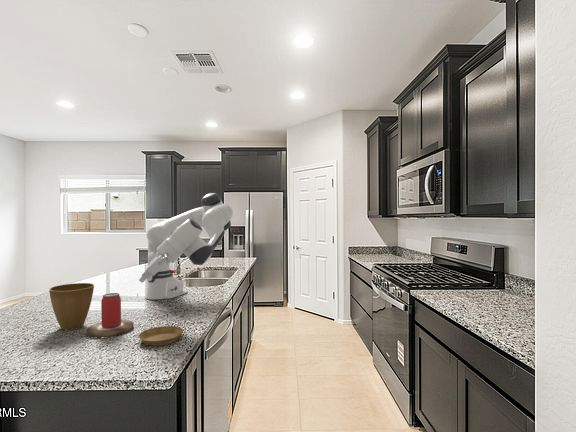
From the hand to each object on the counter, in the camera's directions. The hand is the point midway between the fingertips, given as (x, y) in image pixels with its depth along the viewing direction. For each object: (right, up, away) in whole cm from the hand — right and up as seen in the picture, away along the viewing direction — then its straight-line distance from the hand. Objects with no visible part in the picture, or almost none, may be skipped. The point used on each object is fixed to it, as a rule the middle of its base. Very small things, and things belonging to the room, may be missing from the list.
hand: (141, 278), depth 130 cm
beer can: (-10, -17, -3) cm, 20 cm away
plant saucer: (+13, -19, -13) cm, 27 cm away
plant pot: (-28, -19, +1) cm, 34 cm away
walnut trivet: (-11, -19, -3) cm, 22 cm away
